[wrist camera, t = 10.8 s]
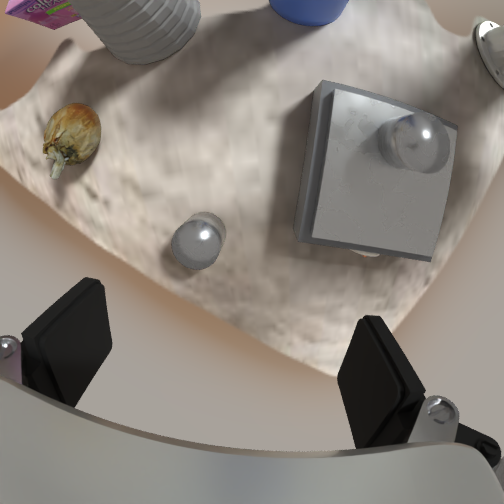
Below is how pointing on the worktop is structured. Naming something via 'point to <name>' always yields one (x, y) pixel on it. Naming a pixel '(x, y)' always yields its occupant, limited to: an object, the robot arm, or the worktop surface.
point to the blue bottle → (309, 10)
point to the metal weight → (414, 142)
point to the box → (44, 12)
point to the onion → (71, 136)
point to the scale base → (314, 166)
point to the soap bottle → (141, 26)
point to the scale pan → (375, 183)
